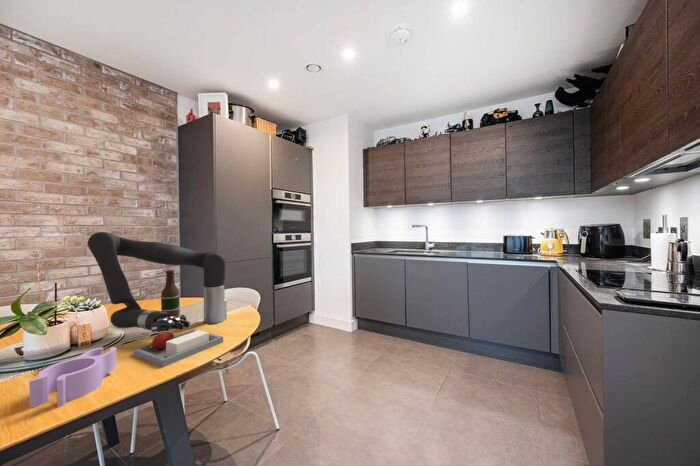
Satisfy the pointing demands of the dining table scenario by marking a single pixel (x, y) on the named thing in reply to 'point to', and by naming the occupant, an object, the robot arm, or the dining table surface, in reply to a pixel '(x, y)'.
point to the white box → (186, 342)
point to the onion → (161, 340)
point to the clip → (72, 377)
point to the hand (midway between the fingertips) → (185, 325)
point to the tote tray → (163, 360)
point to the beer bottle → (170, 296)
